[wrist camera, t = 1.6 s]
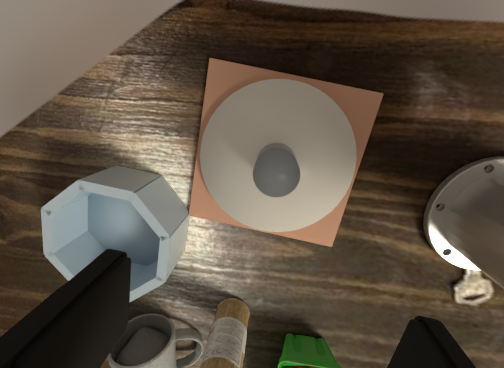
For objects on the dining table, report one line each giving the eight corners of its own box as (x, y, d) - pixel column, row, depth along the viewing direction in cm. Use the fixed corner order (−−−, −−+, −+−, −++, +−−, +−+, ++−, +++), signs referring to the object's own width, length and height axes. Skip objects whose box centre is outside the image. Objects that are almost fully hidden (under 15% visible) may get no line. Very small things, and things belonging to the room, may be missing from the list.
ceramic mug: (136, 355, 38) (104, 414, 31) (128, 310, 36) (92, 363, 28) (206, 359, 38) (191, 421, 30) (203, 314, 35) (186, 370, 28)
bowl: (194, 182, 29) (174, 200, 24) (181, 275, 33) (162, 311, 28) (84, 158, 30) (38, 171, 24) (84, 254, 34) (45, 284, 28)
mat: (381, 93, 25) (383, 93, 24) (330, 244, 30) (331, 246, 30) (210, 58, 25) (209, 57, 25) (189, 213, 30) (188, 215, 30)
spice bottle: (238, 328, 35) (217, 458, 22) (210, 311, 35) (171, 433, 22) (257, 307, 34) (246, 432, 21) (228, 289, 33) (198, 405, 20)
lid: (376, 97, 25) (406, 96, 19) (328, 242, 29) (341, 273, 24) (213, 64, 25) (196, 53, 19) (193, 212, 30) (174, 236, 24)
